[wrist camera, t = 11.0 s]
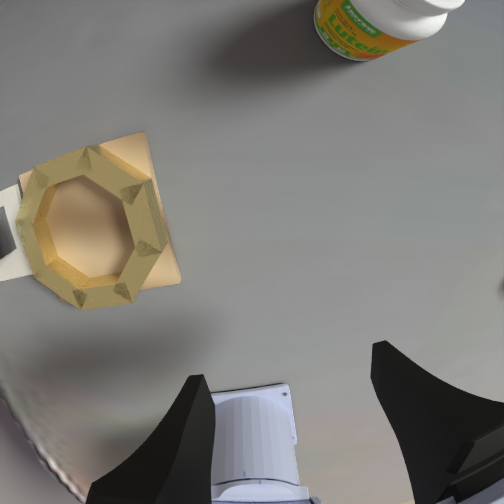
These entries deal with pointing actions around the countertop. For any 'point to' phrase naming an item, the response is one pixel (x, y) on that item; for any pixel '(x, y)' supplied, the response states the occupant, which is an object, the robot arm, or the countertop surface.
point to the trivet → (17, 259)
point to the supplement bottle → (378, 24)
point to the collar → (137, 212)
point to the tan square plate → (104, 221)
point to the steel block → (5, 235)
